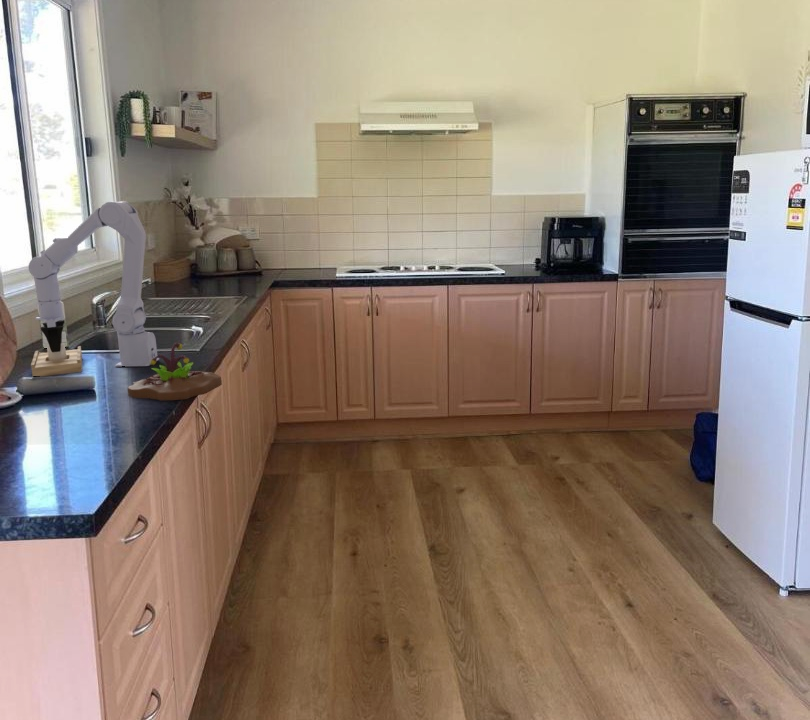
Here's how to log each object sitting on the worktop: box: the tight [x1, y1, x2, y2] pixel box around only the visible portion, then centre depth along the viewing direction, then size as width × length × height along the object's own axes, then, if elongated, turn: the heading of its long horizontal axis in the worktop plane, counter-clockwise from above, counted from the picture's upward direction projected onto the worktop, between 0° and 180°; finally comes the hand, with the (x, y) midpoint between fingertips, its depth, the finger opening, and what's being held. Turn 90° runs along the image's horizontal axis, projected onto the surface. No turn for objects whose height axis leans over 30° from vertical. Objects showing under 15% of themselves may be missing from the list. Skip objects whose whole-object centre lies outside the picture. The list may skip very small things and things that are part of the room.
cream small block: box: [46, 343, 67, 361], centre depth 212 cm, size 5×5×6 cm
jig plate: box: [30, 345, 83, 377], centre depth 213 cm, size 20×12×3 cm, turn 22°
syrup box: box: [36, 301, 70, 349], centre depth 238 cm, size 6×6×14 cm
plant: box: [126, 342, 223, 401], centre depth 184 cm, size 20×20×11 cm
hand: (56, 349), depth 212 cm, fingers open, 7 cm apart
